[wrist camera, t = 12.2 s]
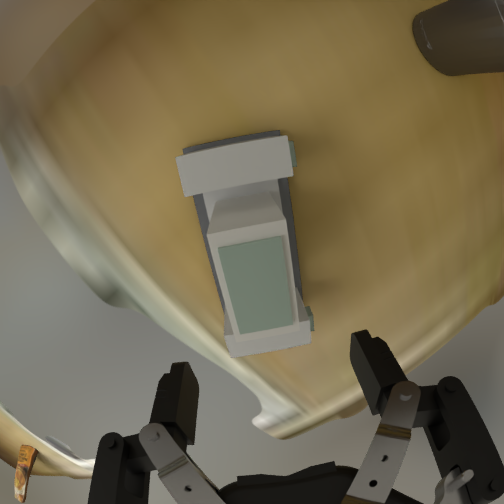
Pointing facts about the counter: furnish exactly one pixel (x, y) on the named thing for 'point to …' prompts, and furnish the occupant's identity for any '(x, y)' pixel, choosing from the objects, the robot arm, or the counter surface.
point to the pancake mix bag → (24, 471)
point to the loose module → (254, 266)
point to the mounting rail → (241, 184)
